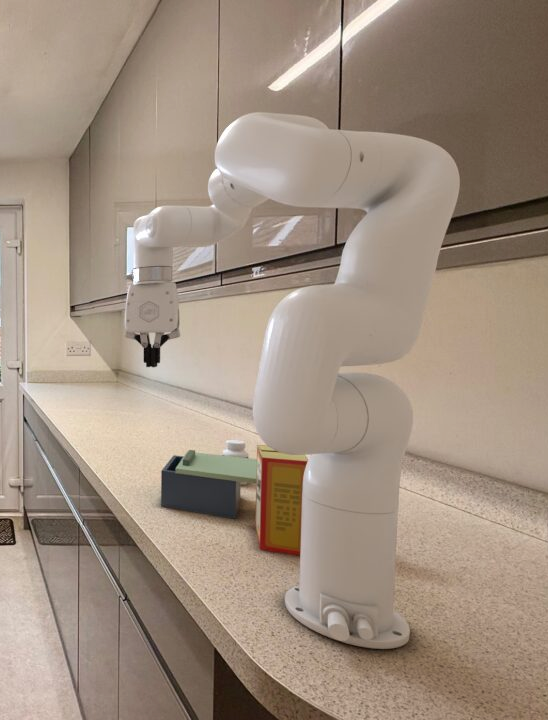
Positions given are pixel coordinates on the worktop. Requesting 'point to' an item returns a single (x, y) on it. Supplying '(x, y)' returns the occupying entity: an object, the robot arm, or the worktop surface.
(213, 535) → the worktop surface
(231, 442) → the pill bottle
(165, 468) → the storage bin
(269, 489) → the baking soda box
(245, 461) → the bin lid
